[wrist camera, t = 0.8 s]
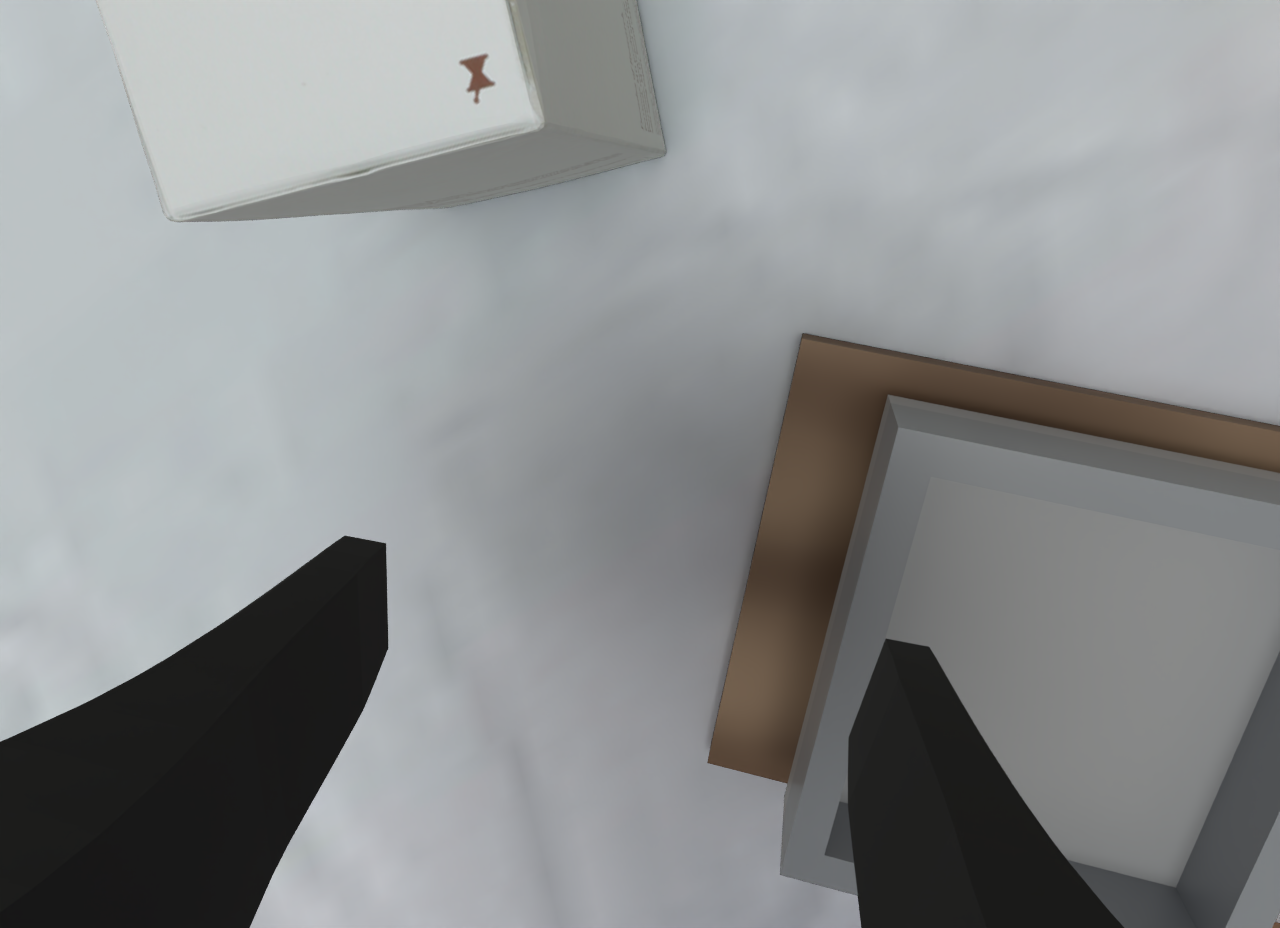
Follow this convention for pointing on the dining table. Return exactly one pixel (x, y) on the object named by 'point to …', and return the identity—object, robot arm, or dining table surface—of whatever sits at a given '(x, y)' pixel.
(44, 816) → the robot arm
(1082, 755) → the tray
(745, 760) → the board
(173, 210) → the supplement box
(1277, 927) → the part block
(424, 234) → the dining table surface
